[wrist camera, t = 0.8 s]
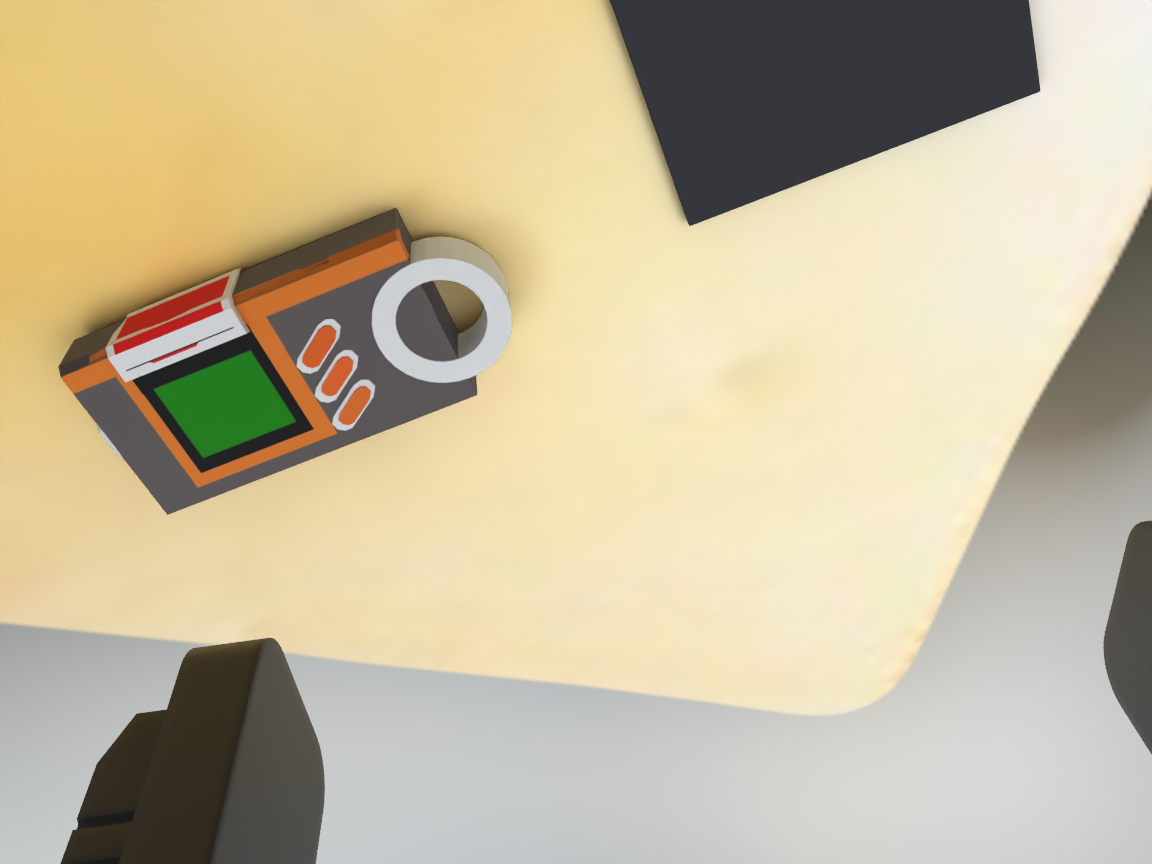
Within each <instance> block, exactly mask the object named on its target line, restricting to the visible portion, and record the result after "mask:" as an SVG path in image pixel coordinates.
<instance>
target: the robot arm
mask: <svg viewBox="0 0 1152 864" xmlns="http://www.w3.org/2000/svg"><path fill="white" fill-rule="evenodd" d="M1104 659H1105V665H1106V670H1107V674H1108V677H1109V680H1110V684H1111V686H1112V689H1113V691H1114V694H1115V696H1116V698H1117V699H1118V702H1119V703H1120V705H1121V707H1122V708H1123V710H1124V712H1125V713H1126V715H1127V716H1128V718H1129V719H1130V721H1131V723H1132V724H1133V726H1134V727H1135V729H1136V730H1137V732H1138V733H1139V735H1140V737H1141V738H1142V740H1143V741H1144V743H1145V745H1146V746H1147V748H1148V749H1149V751H1150V752H1151V754H1152V521H1145V522H1140V523H1139V524H1137V525H1136V526H1135V527H1134V528H1133V529H1132V531H1131V532H1130V534H1129V537H1128V541H1127V544H1126V549H1125V552H1124V557H1123V561H1122V565H1121V569H1120V573H1119V577H1118V582H1117V586H1116V590H1115V594H1114V598H1113V602H1112V606H1111V610H1110V614H1109V619H1108V623H1107V627H1106V631H1105V637H1104ZM324 790H325V786H324V769H323V761H322V755H321V750H320V746H319V742H318V740H317V736H316V734H315V732H314V729H313V726H312V724H311V721H310V719H309V716H308V714H307V711H306V709H305V706H304V704H303V701H302V699H301V696H300V694H299V691H298V688H297V686H296V683H295V681H294V678H293V676H292V673H291V671H290V668H289V666H288V663H287V661H286V658H285V656H284V653H283V651H282V649H281V647H280V645H279V644H278V642H277V641H276V640H275V639H273V638H265V639H258V640H251V641H243V642H236V643H229V644H221V645H214V646H207V647H200V648H193V649H191V650H190V651H189V652H188V653H187V654H186V655H185V657H184V659H183V661H182V664H181V667H180V670H179V673H178V676H177V680H176V683H175V686H174V689H173V692H172V695H171V699H170V702H169V705H168V708H167V710H161V711H154V712H146V713H139V714H136V715H135V716H134V718H133V719H132V720H131V722H130V723H129V724H128V725H127V727H126V728H125V729H124V730H123V732H122V733H121V734H120V736H119V737H118V738H117V739H116V741H115V742H114V743H113V744H112V746H111V747H110V748H109V749H108V751H107V752H106V753H105V754H104V756H103V757H102V758H101V759H100V761H99V762H98V764H97V765H96V768H95V771H94V773H93V776H92V779H91V782H90V784H89V787H88V790H87V793H86V795H85V798H84V801H83V804H82V806H81V809H80V812H79V815H78V818H77V820H78V828H77V830H73V831H72V834H71V837H70V840H69V842H68V845H67V848H66V851H65V853H64V856H63V859H62V862H61V864H315V863H316V856H317V849H318V842H319V836H320V829H321V822H322V815H323V807H324V792H325V791H324Z"/></svg>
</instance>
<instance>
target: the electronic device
mask: <svg viewBox="0 0 1152 864" xmlns="http://www.w3.org/2000/svg"><path fill="white" fill-rule="evenodd" d="M240 271H241V267H240V268H238V269H235V270H233V271H231V272H228V273H226V274H223V275H221V276H219V277H216V278H214V279H211V280H209V281H207V282H204V283H202V284H199V285H197V286H195V287H192V288H190V289H187V290H185V291H182V292H180V293H178V294H175V295H173V296H170V297H168V298H166V299H163V300H161V301H158V302H156V303H154V304H151V305H149V306H146V307H144V308H141V309H139V310H137V311H134V312H132V313H130V314H128V315H127V318H126V319H125V320H122V321H120V322H117V323H115V324H112V325H110V326H108V327H105V328H103V329H100V330H98V331H95V332H93V333H90V334H88V335H86V336H83V337H81V338H78V339H76V340H74V342H73V343H72V345H71V347H70V348H69V350H68V352H67V353H66V355H65V357H64V358H63V360H62V362H61V363H60V365H59V371H60V376H61V378H62V379H63V381H64V382H65V383H66V385H67V386H68V387H69V388H70V390H71V391H72V392H73V394H74V395H75V396H76V397H77V399H78V400H79V401H80V403H81V404H82V405H83V407H84V408H85V409H86V410H87V412H88V413H89V414H90V416H91V417H92V418H93V419H94V421H95V422H96V423H97V426H98V430H99V433H100V435H101V436H102V437H103V438H104V440H105V441H106V442H107V444H108V445H109V446H110V447H111V449H112V450H113V451H114V453H115V454H116V455H119V456H121V457H123V458H124V459H125V461H126V462H127V463H128V464H129V466H130V467H131V468H132V470H133V471H134V472H135V473H136V475H137V476H138V477H139V479H140V480H141V481H142V482H143V484H144V485H145V486H146V488H147V489H148V490H149V492H150V493H151V494H152V495H153V497H154V498H155V499H156V501H157V502H158V503H159V504H160V506H161V507H162V508H163V510H164V511H165V512H166V513H167V515H168V514H171V513H173V512H176V511H178V510H181V509H183V508H186V507H189V506H191V505H194V504H196V503H199V502H202V501H204V500H207V499H209V498H212V497H215V496H217V495H220V494H222V493H225V492H227V491H230V490H233V489H235V488H238V487H240V486H243V485H246V484H248V483H251V482H253V481H256V480H258V479H261V478H264V477H266V476H269V475H271V474H274V473H277V472H279V471H282V470H284V469H287V468H290V467H292V466H295V465H297V464H300V463H302V462H305V461H308V460H310V459H313V458H315V457H318V456H321V455H323V454H326V453H328V452H331V451H333V450H336V449H339V448H341V447H344V446H346V445H349V444H352V443H354V442H357V441H359V440H362V439H365V438H367V437H370V436H372V435H375V434H377V433H380V432H383V431H385V430H388V429H390V428H393V427H396V426H398V425H401V424H403V423H406V422H408V421H411V420H414V419H416V418H419V417H421V416H424V415H427V414H429V413H432V412H434V411H437V410H440V409H442V408H445V407H447V406H450V405H452V404H455V403H458V402H460V401H463V400H465V399H468V398H471V397H473V396H476V395H477V384H476V375H477V374H479V373H481V372H483V371H484V370H485V369H487V368H488V367H489V366H491V365H492V364H493V363H494V362H495V361H496V360H497V358H498V357H499V356H500V355H501V353H502V352H503V350H504V348H505V347H506V345H507V342H508V339H509V336H510V333H511V324H512V318H511V309H510V302H509V294H508V287H507V283H506V280H505V277H504V275H503V273H502V271H501V269H500V268H499V266H498V264H497V263H496V262H495V261H494V260H493V259H492V258H491V256H490V255H489V254H487V253H486V252H485V251H483V250H482V249H481V248H479V247H478V246H476V245H474V244H472V243H469V242H467V241H465V240H461V239H457V238H453V237H442V236H438V237H428V238H423V239H420V240H417V241H413V240H412V238H411V236H410V234H409V232H408V230H407V228H406V226H405V224H404V222H403V220H402V218H401V216H400V214H399V212H398V210H397V208H395V209H393V210H390V211H388V212H385V213H383V214H381V215H378V216H376V217H373V218H371V219H368V220H366V221H364V222H361V223H359V224H356V225H354V226H351V227H349V228H346V229H344V230H342V231H339V232H337V233H334V234H332V235H329V236H327V237H325V238H322V239H320V240H317V241H315V242H312V243H310V244H307V245H305V246H303V247H300V248H298V249H295V250H293V251H290V252H288V253H286V254H283V255H281V256H278V257H276V258H273V259H271V260H268V261H266V262H264V263H261V264H259V265H256V266H254V267H251V268H249V269H247V270H244V271H242V272H240ZM434 280H449V281H453V282H457V283H460V284H462V285H464V286H466V287H468V288H469V289H471V290H472V291H473V292H474V293H475V294H476V295H477V296H478V297H479V298H480V300H481V301H482V303H483V304H484V309H483V312H482V314H481V316H480V317H479V319H478V320H477V321H476V323H475V324H474V325H473V326H472V327H470V328H469V329H468V330H466V331H464V332H462V333H460V334H459V332H458V330H457V328H456V326H455V324H454V322H453V320H452V318H451V316H450V314H449V312H448V310H447V308H446V306H445V304H444V302H443V300H442V298H441V296H440V294H439V292H438V290H437V288H436V286H435V284H434V282H433V281H434Z"/></svg>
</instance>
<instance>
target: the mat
mask: <svg viewBox="0 0 1152 864" xmlns="http://www.w3.org/2000/svg"><path fill="white" fill-rule="evenodd" d="M610 2H611V5H612V7H613V10H614V13H615V16H616V19H617V22H618V25H619V27H620V30H621V33H622V36H623V39H624V42H625V45H626V47H627V50H628V53H629V56H630V59H631V62H632V65H633V67H634V70H635V73H636V76H637V79H638V82H639V84H640V87H641V90H642V93H643V96H644V99H645V102H646V104H647V107H648V110H649V113H650V116H651V119H652V122H653V124H654V127H655V130H656V133H657V136H658V139H659V141H660V144H661V147H662V150H663V153H664V156H665V159H666V161H667V164H668V167H669V170H670V173H671V176H672V179H673V181H674V184H675V187H676V190H677V193H678V196H679V199H680V201H681V204H682V207H683V210H684V213H685V216H686V218H687V221H688V224H689V225H690V226H691V225H694V224H697V223H699V222H702V221H704V220H707V219H710V218H712V217H715V216H717V215H720V214H723V213H725V212H728V211H730V210H733V209H736V208H738V207H741V206H743V205H746V204H749V203H751V202H754V201H756V200H759V199H762V198H764V197H767V196H769V195H772V194H775V193H777V192H780V191H782V190H785V189H788V188H790V187H793V186H795V185H798V184H801V183H803V182H806V181H808V180H811V179H814V178H816V177H819V176H821V175H824V174H827V173H829V172H832V171H834V170H837V169H840V168H842V167H845V166H847V165H850V164H853V163H855V162H858V161H860V160H863V159H866V158H868V157H871V156H873V155H876V154H879V153H881V152H884V151H886V150H889V149H892V148H894V147H897V146H899V145H902V144H905V143H907V142H910V141H912V140H915V139H918V138H920V137H923V136H925V135H928V134H931V133H933V132H936V131H938V130H941V129H944V128H946V127H949V126H951V125H954V124H957V123H959V122H962V121H964V120H967V119H970V118H972V117H975V116H977V115H980V114H983V113H985V112H988V111H990V110H993V109H996V108H998V107H1001V106H1003V105H1006V104H1009V103H1011V102H1014V101H1016V100H1019V99H1022V98H1024V97H1027V96H1029V95H1032V94H1035V93H1037V92H1039V91H1040V84H1039V76H1038V69H1037V61H1036V53H1035V46H1034V38H1033V30H1032V23H1031V15H1030V8H1029V0H610Z"/></svg>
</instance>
